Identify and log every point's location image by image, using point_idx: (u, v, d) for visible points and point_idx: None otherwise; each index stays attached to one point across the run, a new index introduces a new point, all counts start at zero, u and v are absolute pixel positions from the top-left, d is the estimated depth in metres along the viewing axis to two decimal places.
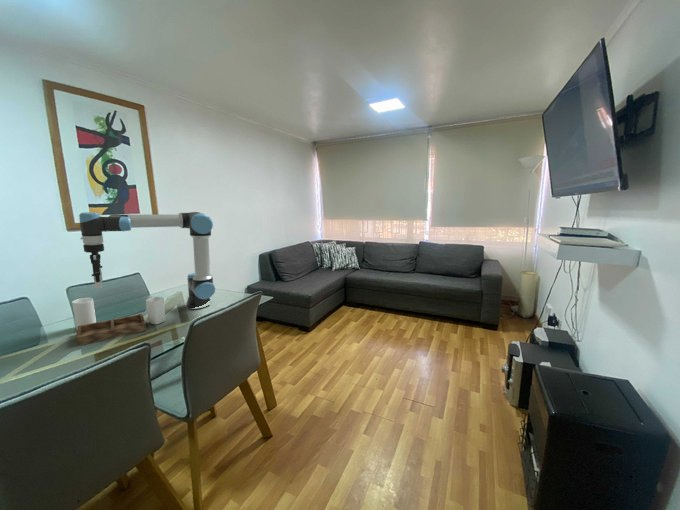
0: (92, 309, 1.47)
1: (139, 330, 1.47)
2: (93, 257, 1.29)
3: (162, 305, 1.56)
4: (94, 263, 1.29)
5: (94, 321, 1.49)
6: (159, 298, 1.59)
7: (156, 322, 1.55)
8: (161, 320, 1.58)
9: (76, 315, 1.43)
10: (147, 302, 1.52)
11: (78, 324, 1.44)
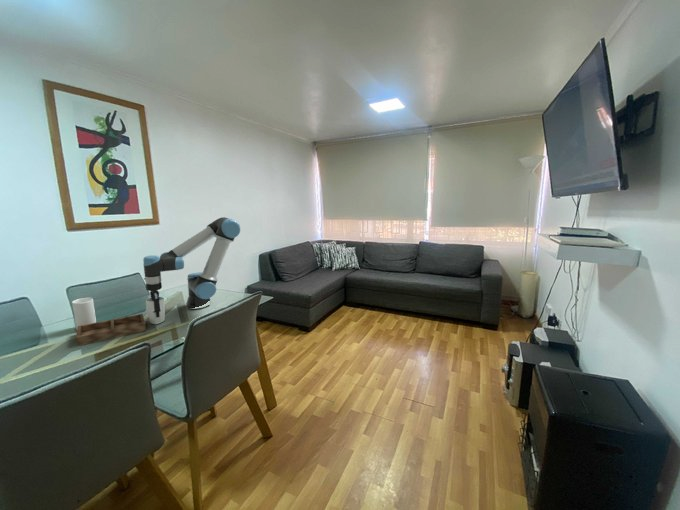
0: (92, 309, 1.47)
1: (139, 330, 1.47)
2: (155, 297, 1.49)
3: (162, 305, 1.56)
4: (155, 301, 1.50)
5: (94, 321, 1.49)
6: (159, 298, 1.58)
7: (156, 322, 1.55)
8: (161, 320, 1.58)
9: (76, 315, 1.43)
10: (147, 302, 1.52)
11: (78, 324, 1.44)
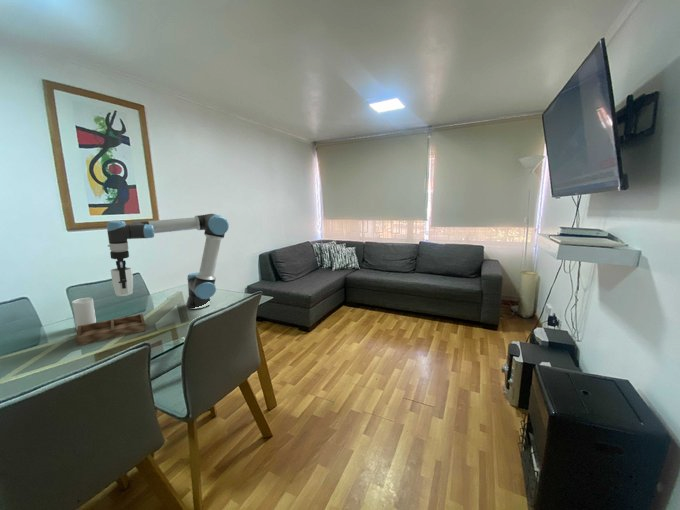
0: (92, 309, 1.47)
1: (139, 330, 1.47)
2: (120, 265, 1.36)
3: (129, 276, 1.43)
4: (121, 271, 1.37)
5: (94, 321, 1.49)
6: (127, 269, 1.46)
7: (122, 294, 1.42)
8: (128, 292, 1.45)
9: (76, 315, 1.43)
10: (112, 272, 1.39)
11: (78, 324, 1.44)
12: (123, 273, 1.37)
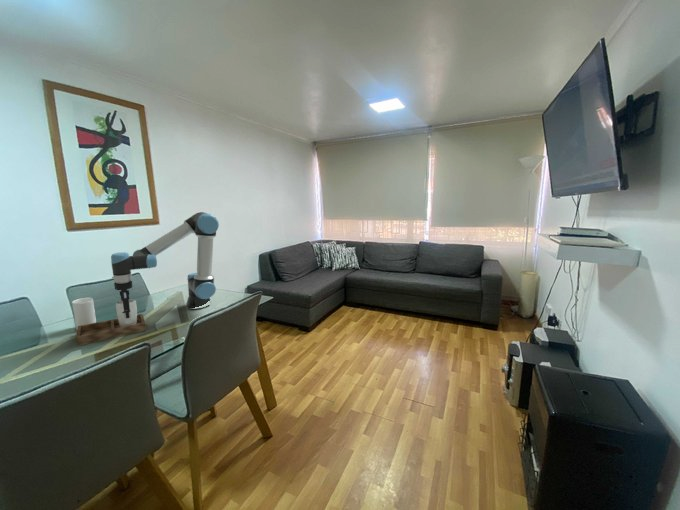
0: (92, 309, 1.47)
1: (139, 330, 1.47)
2: (124, 296, 1.40)
3: (133, 308, 1.48)
4: (124, 301, 1.40)
5: (94, 321, 1.49)
6: (131, 300, 1.50)
7: None
8: (132, 324, 1.49)
9: (76, 315, 1.43)
10: (117, 305, 1.44)
11: (78, 324, 1.44)
12: (127, 303, 1.41)
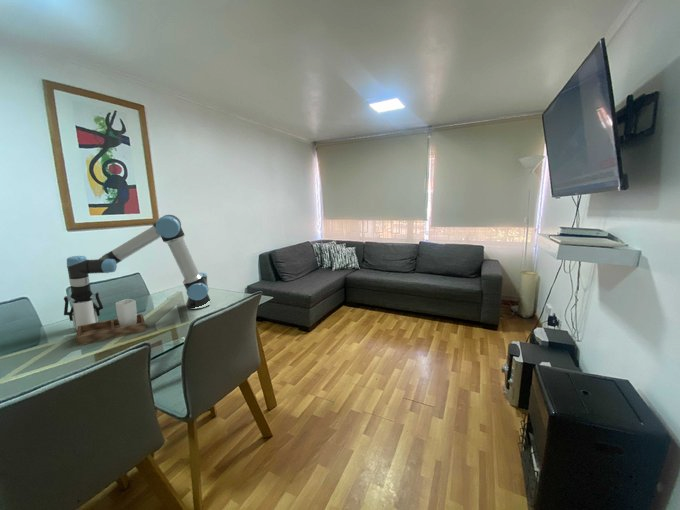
0: (92, 309, 1.47)
1: (139, 330, 1.47)
2: None
3: (133, 308, 1.48)
4: (65, 303, 1.41)
5: (94, 321, 1.49)
6: (130, 301, 1.50)
7: None
8: (132, 324, 1.49)
9: (76, 315, 1.43)
10: (116, 305, 1.44)
11: (78, 324, 1.44)
12: None
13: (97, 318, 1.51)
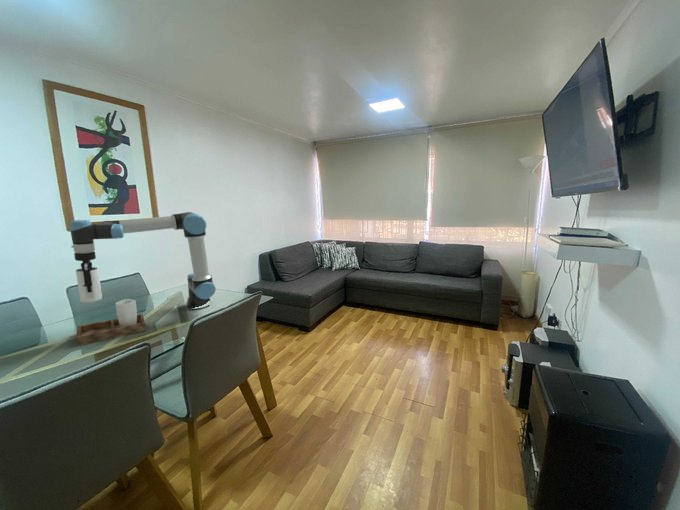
0: None
1: (139, 330, 1.47)
2: (84, 268, 1.28)
3: (133, 308, 1.48)
4: (85, 273, 1.28)
5: None
6: (130, 301, 1.50)
7: None
8: (132, 324, 1.49)
9: (96, 283, 1.34)
10: (116, 305, 1.44)
11: (98, 292, 1.36)
12: (88, 276, 1.29)
13: None
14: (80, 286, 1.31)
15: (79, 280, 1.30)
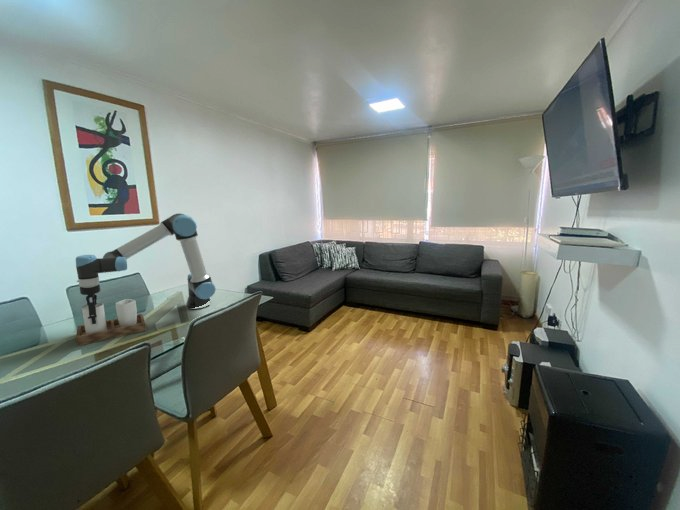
0: None
1: (139, 330, 1.47)
2: (89, 300, 1.31)
3: (133, 308, 1.48)
4: (90, 306, 1.31)
5: None
6: (130, 301, 1.50)
7: None
8: (132, 324, 1.49)
9: (101, 319, 1.38)
10: (116, 305, 1.44)
11: (103, 328, 1.40)
12: (93, 308, 1.31)
13: None
14: (86, 322, 1.35)
15: (85, 317, 1.34)
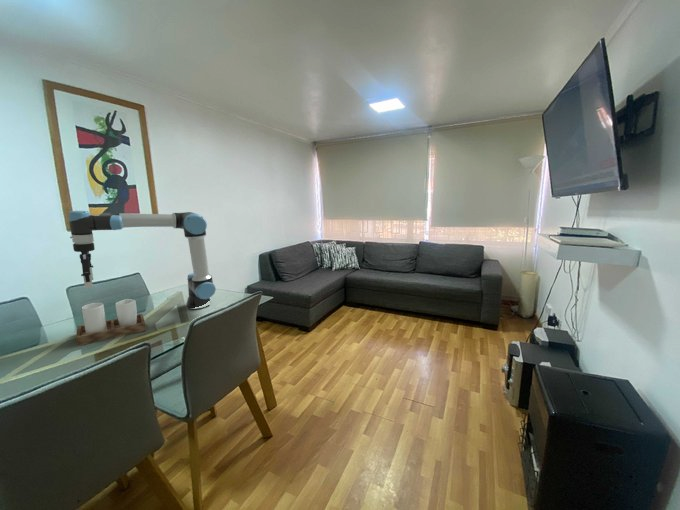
0: None
1: (139, 330, 1.47)
2: (83, 256, 1.26)
3: (133, 308, 1.48)
4: (83, 262, 1.26)
5: None
6: (130, 301, 1.50)
7: None
8: (132, 324, 1.49)
9: (101, 319, 1.38)
10: (116, 305, 1.44)
11: (103, 328, 1.40)
12: (86, 265, 1.27)
13: None
14: (86, 322, 1.35)
15: (85, 317, 1.34)
